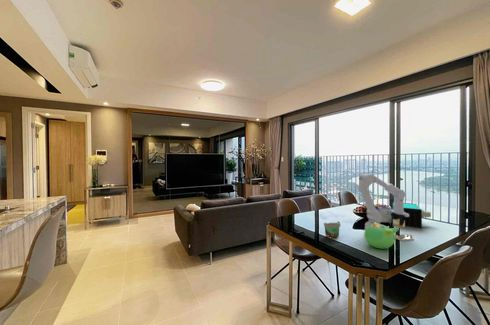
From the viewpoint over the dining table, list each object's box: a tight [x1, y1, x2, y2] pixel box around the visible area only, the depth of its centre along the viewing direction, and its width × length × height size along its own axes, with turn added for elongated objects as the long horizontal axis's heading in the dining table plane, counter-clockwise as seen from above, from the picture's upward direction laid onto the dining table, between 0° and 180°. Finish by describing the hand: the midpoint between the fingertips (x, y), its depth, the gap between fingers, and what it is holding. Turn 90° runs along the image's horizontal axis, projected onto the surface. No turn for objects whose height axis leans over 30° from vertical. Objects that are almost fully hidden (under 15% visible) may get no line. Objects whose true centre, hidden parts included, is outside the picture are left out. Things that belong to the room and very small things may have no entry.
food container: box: [323, 221, 341, 239], centre depth 150 cm, size 12×6×10 cm, turn 105°
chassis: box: [395, 233, 415, 242], centre depth 146 cm, size 10×6×2 cm, turn 101°
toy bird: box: [364, 222, 400, 250], centre depth 132 cm, size 18×17×15 cm
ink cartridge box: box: [376, 204, 393, 223], centre depth 187 cm, size 10×6×14 cm, turn 78°
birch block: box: [392, 219, 406, 229], centre depth 157 cm, size 6×4×5 cm, turn 102°
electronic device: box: [391, 201, 432, 229], centre depth 181 cm, size 25×25×15 cm
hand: (398, 224), depth 156 cm, fingers closed on birch block, 4 cm apart
